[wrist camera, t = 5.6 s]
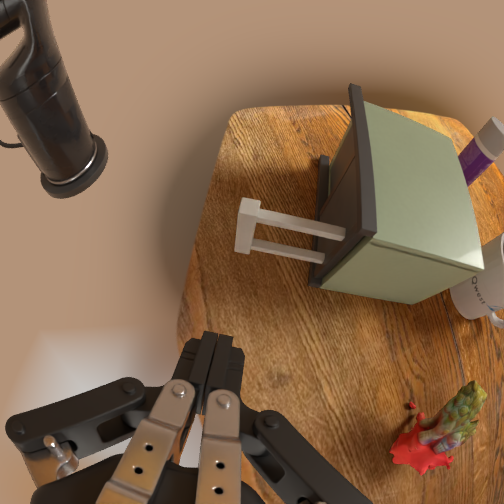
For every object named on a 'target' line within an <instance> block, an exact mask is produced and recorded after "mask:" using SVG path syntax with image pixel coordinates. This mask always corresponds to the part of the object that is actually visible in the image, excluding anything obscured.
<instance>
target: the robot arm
mask: <svg viewBox="0 0 504 504" xmlns="http://www.w3.org/2000/svg"><path fill="white" fill-rule="evenodd" d="M20 27H22V28H23V30H24V36H23V38H22V40H21V41H20V43H19V44H18V46H17V47H16V49H15V50H14V51H13V52H12V54H11V55H10V56H9V57H8V58H7V59H6V60H5V61H4V63H3V64H2V65H1V66H0V105H1V106H2V108H3V110H4V111H5V113H6V115H7V117H8V118H9V120H10V122H11V124H12V125H13V127H14V129H15V130H16V132H17V134H18V139H19V140H20V141H21V143H18V144H7V143H4V142H2V141H1V140H0V145H1V146H3V147H6V148H18V147H24V148H25V149H26V151H27V152H28V154H29V155H30V157H31V158H32V160H33V161H34V163H35V164H36V166H37V167H38V168H39V170H40V171H41V173H42V174H43V175H45V177H46V178H47V180H48V181H49V182H50V183H51V184H52V185H55V186H65V185H68V184H71V183H73V182H75V181H77V180H78V179H80V178H81V177H82V176H84V175H85V174H86V173H87V172H88V171H89V170H90V168H91V167H92V166H93V164H94V162H95V161H96V158H97V155H98V147H97V145H96V142H95V141H94V140H95V139H93V138H94V137H92V136H93V134H92V133H91V131H90V130H89V128H88V125H87V123H86V121H85V118H84V116H83V114H82V111H81V109H80V106H79V104H78V101H77V98H76V96H75V93H74V91H73V88H72V85H71V83H70V80H69V77H68V74H67V72H66V69H65V66H64V63H63V60H62V57H61V54H60V51H59V48H58V45H57V42H56V39H55V36H54V32H53V29H52V25H51V21H50V17H49V12H48V7H47V0H0V40H2V39H3V38H5V37H6V36H8V35H9V34H11V33H12V32H14V31H16V30H17V29H19V28H20ZM217 339H218V341H217ZM232 341H233V337H232V336H227V335H222V334H219V337H218V333H213V332H209V331H204V333H203V336H202V338H201V340H199V339H195V338H191V339H190V340H189V341H188V342H186V343H185V346H184V348H183V351H182V353H181V356H180V358H179V361H178V364H177V366H176V369H175V371H174V374H173V376H172V379H171V380H170V381H168V382H167V383H166V384H165V385H163V386H160V387H144V385H143V383H142V382H141V381H139V380H138V379H135V378H132V377H125V378H121V379H119V380H116V381H114V382H111V383H108V384H106V385H103V386H100V387H98V388H95V389H92V390H90V391H87V392H84V393H81V394H79V395H76V396H73V397H70V398H67V399H64V400H61V401H58V402H55V403H52V404H49V405H46V406H43V407H40V408H37V409H34V410H30V411H27V412H24V413H20V414H17V415H13V416H12V417H10V418H9V419H8V420H7V422H6V426H5V430H6V433H7V435H8V437H9V438H10V439H11V441H12V442H13V443H14V444H15V446H16V447H17V449H18V450H19V451H20V452H21V454H22V456H23V459H24V461H25V464H26V466H27V468H28V470H29V473H30V474H31V477H32V479H33V481H34V483H35V485H36V487H37V490H36V491H35V492H34V493H33V495H32V498H31V502H30V504H265V502H264V501H263V500H262V499H261V497H260V496H259V495H258V494H257V492H256V491H255V490H254V489H253V488H252V487H250V486H249V485H248V484H246V483H245V482H243V481H241V450H242V451H243V453H244V455H245V456H246V458H247V459H248V460H249V461H250V463H251V464H252V465H253V466H254V468H255V469H256V470H257V471H258V472H259V474H260V475H261V476H262V477H263V478H264V480H265V481H266V482H267V483H268V484H269V486H270V487H271V488H272V489H273V490H274V491H275V492H276V493H277V495H278V496H279V497H280V498H281V499H282V500H283V501H284V502H285V503H286V504H373V503H372V502H371V501H370V500H369V499H368V498H367V497H366V496H364V495H363V494H362V493H361V492H360V491H359V490H358V489H357V488H355V487H354V486H353V485H352V484H351V483H350V482H349V481H348V480H347V479H346V478H344V477H343V476H342V475H341V474H340V473H339V472H338V471H337V470H336V469H335V468H334V467H333V466H332V465H331V464H330V463H329V462H328V461H327V460H326V459H325V458H324V457H323V456H322V455H320V454H319V453H318V452H317V451H316V450H315V448H314V447H313V446H312V445H311V444H310V443H309V442H308V441H307V440H306V439H305V438H304V437H303V436H302V435H301V434H300V433H299V432H298V431H297V430H296V429H295V428H294V427H293V426H292V425H291V423H290V422H289V421H288V420H287V419H286V418H285V417H284V416H283V415H282V414H280V413H279V412H277V411H273V410H264V411H261V412H260V413H259V412H257V411H255V410H252V409H250V408H249V407H247V406H246V405H245V404H244V403H243V402H242V400H241V398H240V390H241V383H242V375H243V367H244V360H245V355H244V353H243V351H242V349H241V348H236V347H232ZM203 402H204V403H203ZM202 406H203V410H202ZM201 410H202V415H205V418H204V425H203V431H202V439H201V447H200V456H199V464H198V468H187V467H182V466H180V465H179V462H180V457H181V454H182V451H183V449H184V446H185V443H186V441H187V438H188V435H189V432H190V430H191V427H192V424H193V421H194V418H195V414H201ZM131 437H132V439H131V441H130V443H129V445H128V446H127V448H126V450H125V452H124V453H123V454H117V455H114V456H111V457H109V458H107V459H104V460H102V461H100V462H98V463H96V464H94V465H91V466H89V467H87V468H85V469H82V470H80V471H78V472H75V473H73V474H71V473H72V472H74V471H75V470H76V469H77V467H78V464H79V461H78V460H79V459H81V458H84V457H86V456H89V455H91V454H94V453H96V452H99V451H101V450H104V449H106V448H108V447H111V446H113V445H115V444H117V443H120V442H122V441H124V440H126V439H128V438H131ZM69 474H70V475H69Z"/></svg>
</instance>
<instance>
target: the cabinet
mask: <svg viewBox="0 0 504 504" xmlns="http://www.w3.org/2000/svg"><path fill="white" fill-rule="evenodd" d="M348 91H349V99H350V107H351V116H352V119H351V121H350V124H349V126H348V128H347V130H346V132H345V134H344V136H343V139H342V141H341V143H340V145H339V147H338V149H337V151H336V153H335V155H334V157H333V159H332V162H331V164H330V166H329V157H328V156H325V155H320V157H319V164H318V181H317V195H316V208H315V220H314V221H318V222H320V217H319V216H320V211H321V209H322V207H323V205H324V204H325V202H326V200H327V198H328V197H329V195H330V193H331V191H332V190H333V188H334V186H335V184H336V182H337V181H338V179H339V177H340V175H341V173H342V172H343V170H344V168H345V166H346V164H347V163H348V161H349V159H350V157H351V155H352V153H353V152H354V151H355V167H356V192H357V234H361V235H364V236H363V238H362V239H361V240H360V241H359V242H358V243H357V244H356V245H355V246H354V247H353V248H352V249H351V250H350V251H349V252H348V253H347V254H346V255H345V256H344V257H343V258H342V259H341V260H340V261H339V262H338V263H337V264H336V265H335V266H334V267H333V268H332V269H331V270H330V271H329V272H328V273H327V274H326V275H325V276H324V277H323V278H322V279H317V278H314V271H315V266H316V263H314V262H310V270H309V278H308V286H311V287H316V288H321V289H327V290H332V291H337V292H343V293H348V294H354V295H359V296H365V297H370V298H376V299H381V300H387V301H393V302H399V303H405V304H410V305H413V304H415V303H418V302H420V301H422V300H424V299H427V298H429V297H431V296H433V295H435V294H438V293H440V292H442V291H444V290H446V289H448V288H450V287H452V286H454V285H456V284H458V283H460V282H462V281H464V280H466V279H468V278H470V277H472V276H474V275H476V274H478V273H480V272H481V271H483V270H484V263H483V256H482V250H481V244H480V238H479V233H478V228H477V223H476V219H475V214H474V210H473V206H472V202H471V198H470V194H469V191H468V187H467V184H466V180H465V177H464V174H463V171H462V168H461V165H460V162H459V159H458V156H457V153H456V150H455V148H454V145H453V143H452V140H451V139H450V138H449V137H447V136H445V135H443V134H441V133H439V132H437V131H435V130H433V129H431V128H429V127H426V126H424V125H422V124H420V123H418V122H416V121H413V120H411V119H409V118H406V117H404V116H402V115H399V114H397V113H394V112H392V111H389V110H387V109H384V108H382V107H379V106H376V105H373V104H371V103H368V102H365V101H363V96H362V91H361V87H360V86H357V85H354V84H351V83H350V85H349V88H348ZM317 245H318V236H316V235H313V242H312V251H316V252H317Z"/></svg>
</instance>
